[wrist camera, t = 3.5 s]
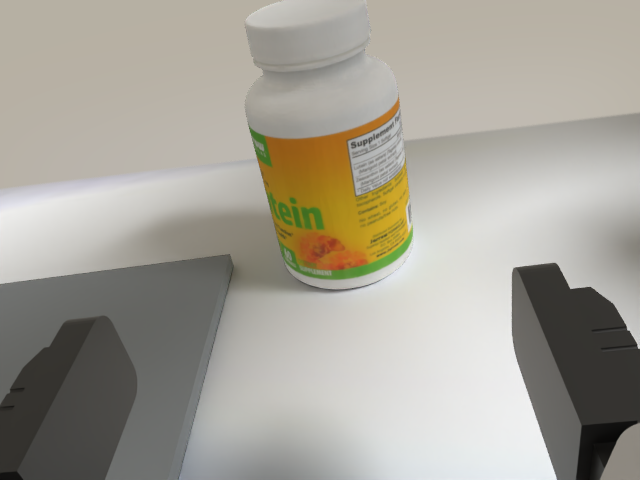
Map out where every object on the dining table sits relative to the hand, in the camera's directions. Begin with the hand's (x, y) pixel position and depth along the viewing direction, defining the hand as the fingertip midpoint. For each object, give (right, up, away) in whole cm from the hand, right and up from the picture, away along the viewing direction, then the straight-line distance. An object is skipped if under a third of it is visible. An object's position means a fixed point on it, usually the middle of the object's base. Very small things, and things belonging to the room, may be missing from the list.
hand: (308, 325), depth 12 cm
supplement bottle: (+1, +1, +13) cm, 13 cm away
